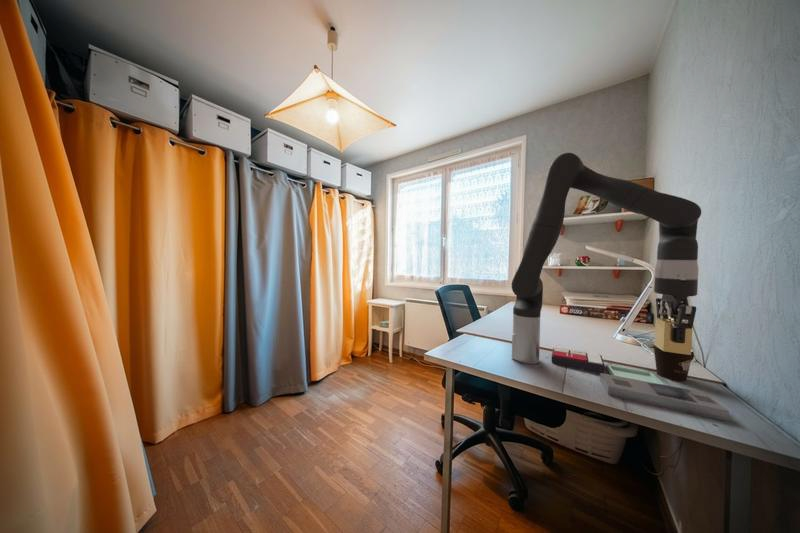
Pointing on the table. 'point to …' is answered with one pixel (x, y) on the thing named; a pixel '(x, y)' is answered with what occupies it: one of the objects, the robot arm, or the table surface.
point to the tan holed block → (664, 338)
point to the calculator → (578, 360)
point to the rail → (649, 394)
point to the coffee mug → (672, 364)
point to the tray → (633, 374)
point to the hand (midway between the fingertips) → (672, 339)
